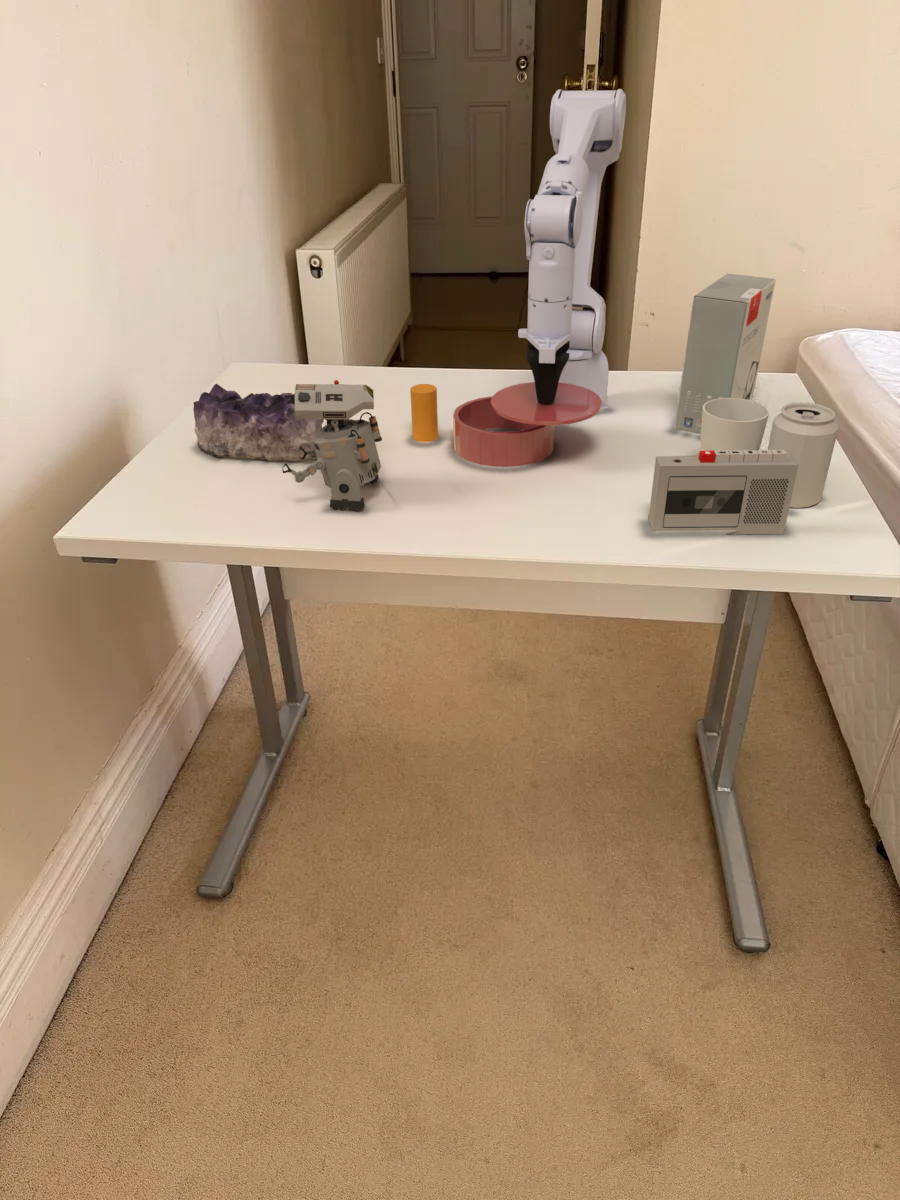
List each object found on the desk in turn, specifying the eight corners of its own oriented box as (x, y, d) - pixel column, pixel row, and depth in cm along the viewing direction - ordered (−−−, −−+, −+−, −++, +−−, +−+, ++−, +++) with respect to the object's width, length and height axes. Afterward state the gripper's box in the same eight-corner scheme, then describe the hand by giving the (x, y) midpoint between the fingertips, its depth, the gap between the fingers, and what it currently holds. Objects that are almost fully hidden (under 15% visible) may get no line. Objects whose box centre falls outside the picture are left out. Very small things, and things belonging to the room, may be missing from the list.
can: (819, 490, 112) (841, 402, 105) (820, 516, 106) (843, 424, 99) (759, 483, 114) (776, 396, 107) (757, 508, 108) (774, 418, 102)
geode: (182, 467, 122) (169, 396, 118) (211, 444, 133) (200, 379, 128) (321, 465, 120) (313, 393, 116) (339, 442, 130) (333, 375, 126)
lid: (566, 382, 127) (568, 351, 125) (622, 417, 115) (626, 384, 113) (473, 399, 122) (472, 367, 120) (521, 437, 111) (522, 403, 108)
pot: (525, 423, 133) (526, 389, 130) (571, 458, 122) (573, 422, 119) (439, 439, 128) (438, 405, 125) (479, 478, 117) (478, 441, 114)
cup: (759, 473, 117) (773, 402, 111) (750, 498, 110) (764, 425, 105) (699, 463, 119) (709, 394, 114) (686, 488, 113) (697, 416, 108)
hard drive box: (723, 442, 125) (746, 302, 114) (672, 432, 129) (690, 295, 118) (752, 407, 136) (776, 276, 125) (705, 399, 140) (724, 271, 129)
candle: (432, 433, 130) (430, 382, 126) (442, 442, 128) (440, 390, 123) (409, 437, 129) (406, 386, 125) (418, 447, 126) (415, 394, 122)
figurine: (308, 477, 118) (295, 371, 110) (389, 482, 117) (382, 374, 108) (287, 508, 111) (271, 396, 103) (373, 513, 109) (364, 400, 101)
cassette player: (651, 534, 103) (661, 458, 98) (647, 524, 106) (656, 448, 100) (783, 533, 103) (800, 456, 97) (776, 523, 105) (793, 446, 99)
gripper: (522, 282, 117) (519, 379, 125) (515, 312, 105) (513, 417, 113) (574, 282, 116) (568, 380, 124) (574, 312, 104) (568, 418, 112)
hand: (546, 398), depth 118 cm, fingers closed on lid, 2 cm apart
